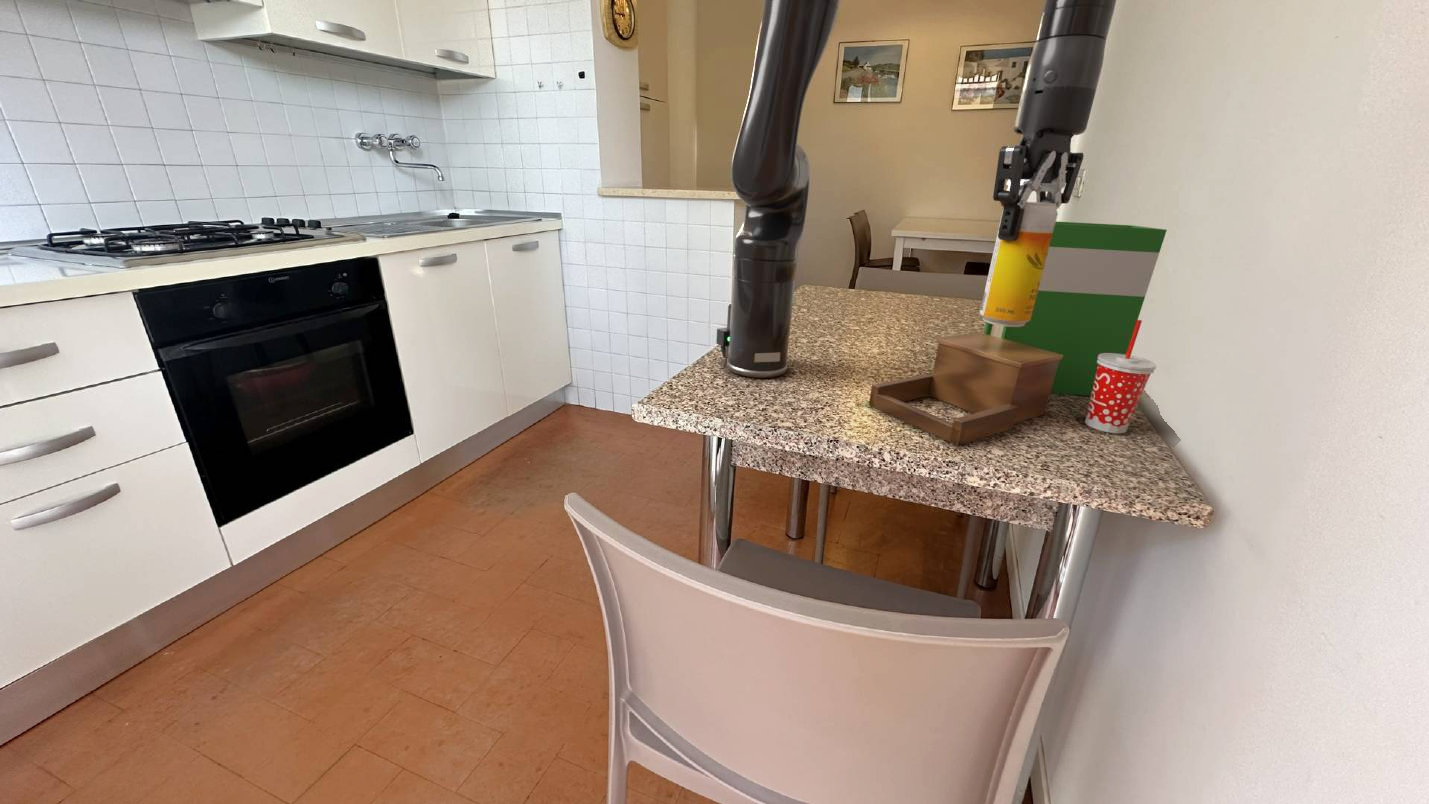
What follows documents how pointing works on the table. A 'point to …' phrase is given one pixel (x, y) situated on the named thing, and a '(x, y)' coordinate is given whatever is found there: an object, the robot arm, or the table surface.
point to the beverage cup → (1118, 388)
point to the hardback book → (1088, 297)
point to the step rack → (974, 387)
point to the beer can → (1019, 268)
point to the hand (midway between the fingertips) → (1022, 239)
